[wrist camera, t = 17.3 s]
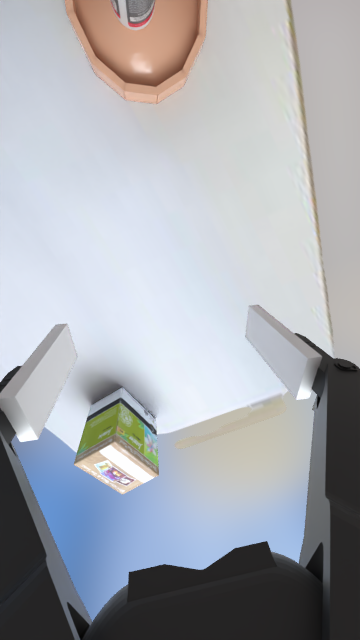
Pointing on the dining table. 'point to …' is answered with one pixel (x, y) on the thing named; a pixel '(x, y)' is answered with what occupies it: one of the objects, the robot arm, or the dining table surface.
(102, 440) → the tea box
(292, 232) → the dining table surface
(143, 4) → the pill bottle
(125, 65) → the bowl
